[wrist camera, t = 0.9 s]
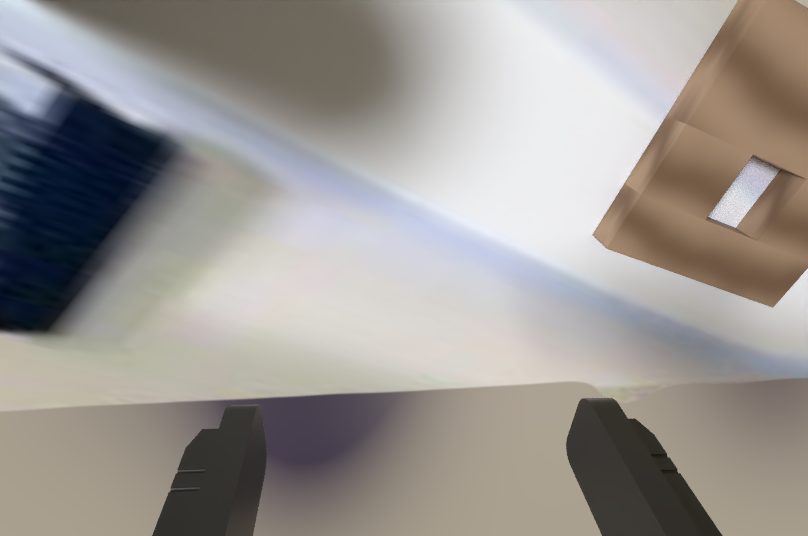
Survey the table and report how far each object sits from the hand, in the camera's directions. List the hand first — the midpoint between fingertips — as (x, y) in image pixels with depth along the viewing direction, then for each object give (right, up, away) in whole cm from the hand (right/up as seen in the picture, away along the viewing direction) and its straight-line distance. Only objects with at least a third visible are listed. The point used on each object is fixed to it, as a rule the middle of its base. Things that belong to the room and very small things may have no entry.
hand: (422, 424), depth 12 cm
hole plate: (+27, +12, +26) cm, 39 cm away
